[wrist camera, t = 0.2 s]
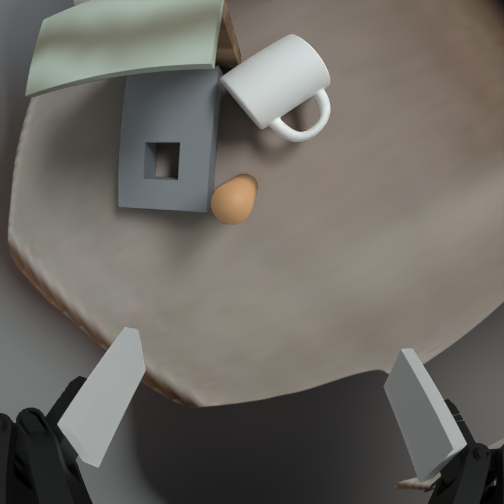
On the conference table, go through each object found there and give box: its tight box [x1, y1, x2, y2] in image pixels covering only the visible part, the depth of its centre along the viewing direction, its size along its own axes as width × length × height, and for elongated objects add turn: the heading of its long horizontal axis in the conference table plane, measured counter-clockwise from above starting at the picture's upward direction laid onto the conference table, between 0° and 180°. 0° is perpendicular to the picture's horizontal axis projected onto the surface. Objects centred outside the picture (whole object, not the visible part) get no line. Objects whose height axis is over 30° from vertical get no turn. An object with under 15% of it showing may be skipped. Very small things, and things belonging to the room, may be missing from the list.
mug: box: [220, 34, 330, 142], centre depth 28 cm, size 12×10×8 cm
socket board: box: [118, 66, 223, 213], centre depth 32 cm, size 18×12×4 cm, turn 175°
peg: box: [211, 174, 258, 225], centre depth 29 cm, size 3×3×14 cm
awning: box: [25, 0, 241, 97], centre depth 22 cm, size 8×17×19 cm, turn 85°
